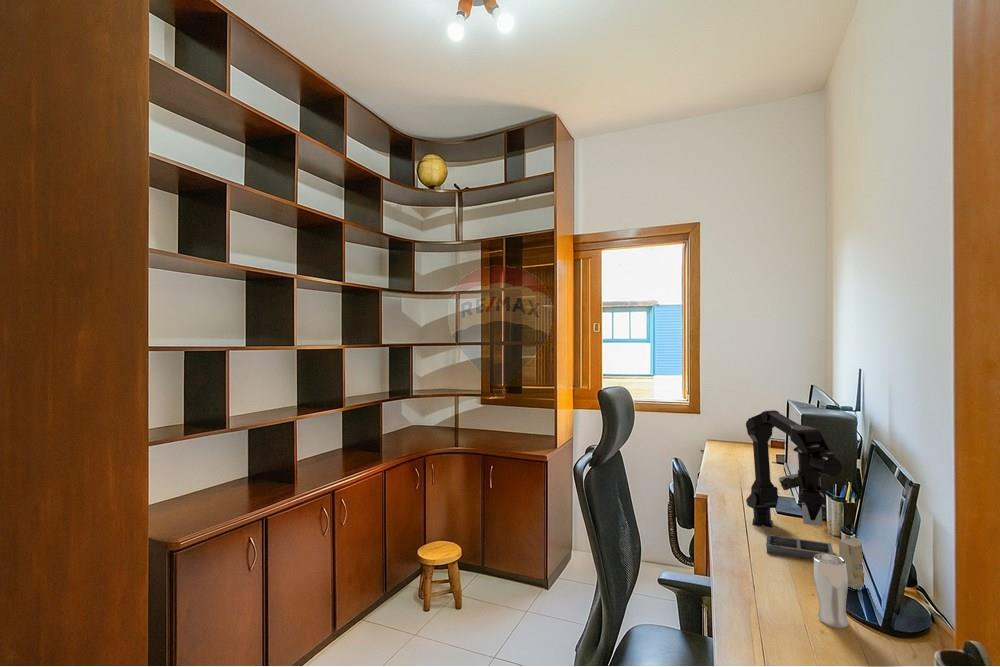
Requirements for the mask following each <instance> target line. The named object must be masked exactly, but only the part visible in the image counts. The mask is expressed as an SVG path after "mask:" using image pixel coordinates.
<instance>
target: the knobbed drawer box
mask: <svg viewBox="0 0 1000 667" xmlns="http://www.w3.org/2000/svg"><path fill="white" fill-rule="evenodd" d="M801 507H802V508H801V509H802V510H801V511H802V522H803V525H811V526H818V527H823V512H822V507H821V508H820V510H819V512H818V514H817V517H816V519H815V520H811V519H810V516H809V512H808V509H807V505H806V504H805V503H804V502H801Z"/></svg>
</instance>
